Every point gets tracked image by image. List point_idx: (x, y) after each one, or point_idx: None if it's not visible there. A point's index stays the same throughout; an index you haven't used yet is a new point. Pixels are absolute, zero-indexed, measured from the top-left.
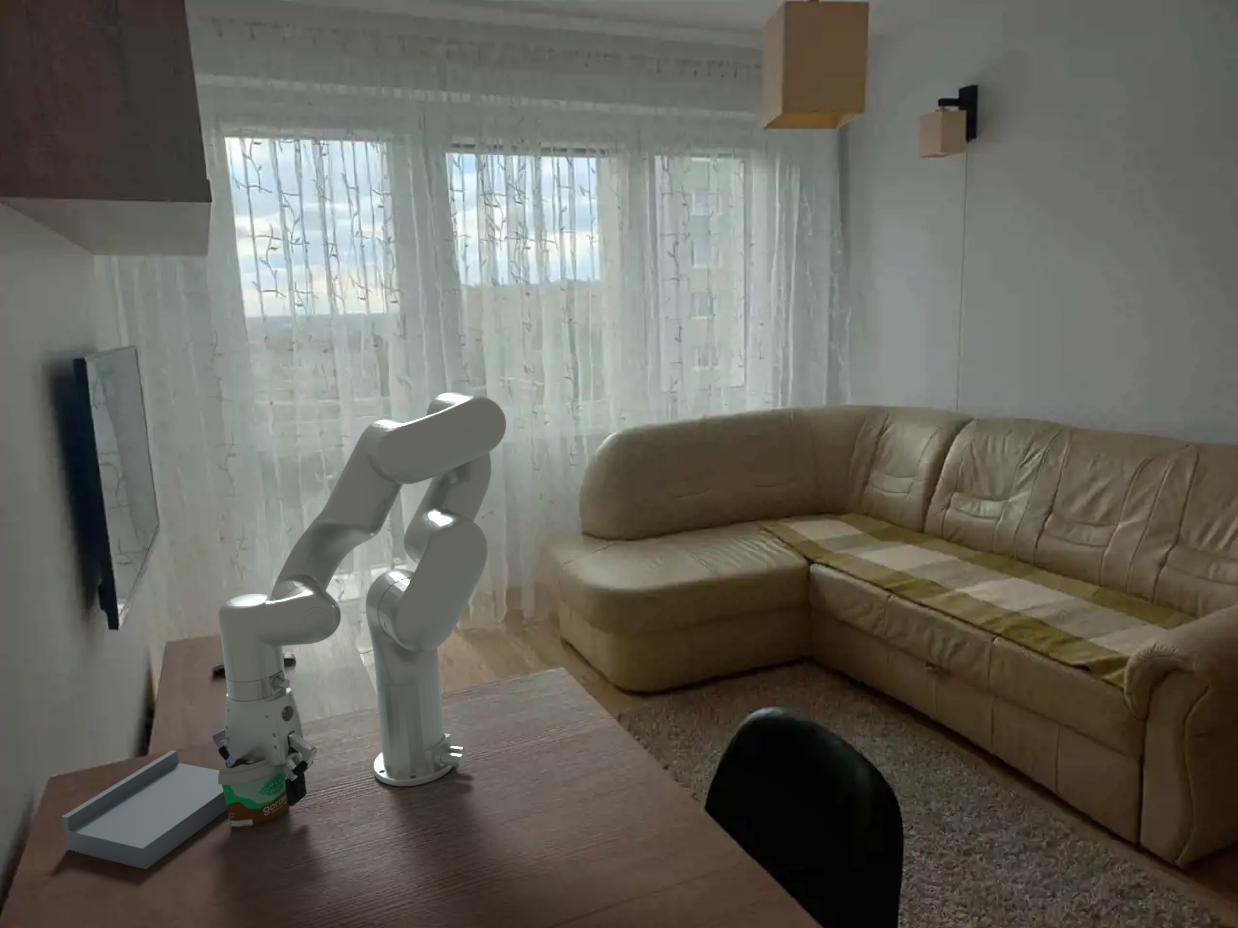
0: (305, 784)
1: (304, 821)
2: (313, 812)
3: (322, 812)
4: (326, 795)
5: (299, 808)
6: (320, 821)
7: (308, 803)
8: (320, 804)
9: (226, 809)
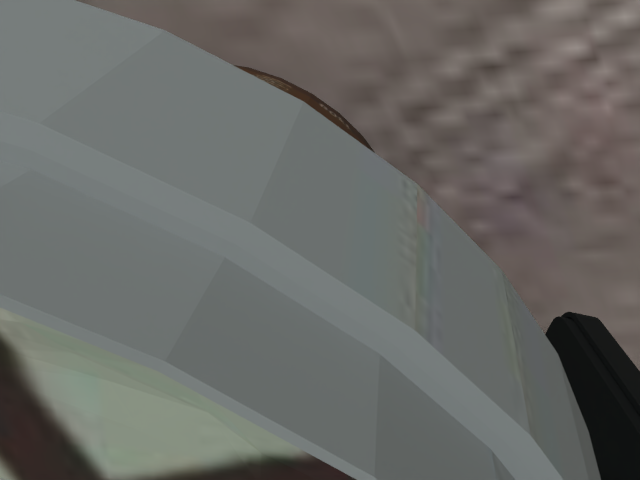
0: (632, 364)
1: (544, 314)
2: (571, 242)
3: (626, 240)
4: (609, 62)
5: (472, 212)
6: (633, 311)
7: (510, 161)
8: (593, 166)
9: None
